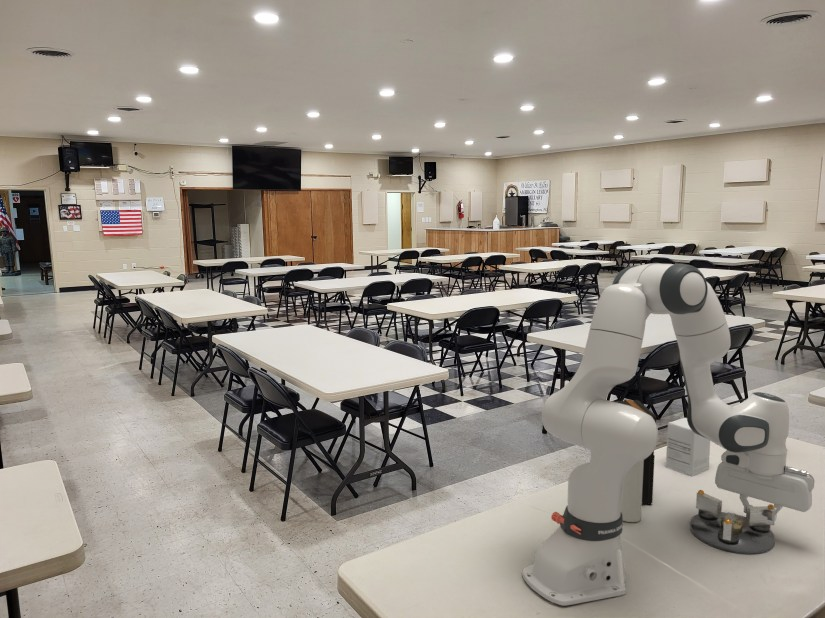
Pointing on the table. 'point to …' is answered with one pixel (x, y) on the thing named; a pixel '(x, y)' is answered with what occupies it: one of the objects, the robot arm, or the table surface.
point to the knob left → (708, 506)
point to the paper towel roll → (632, 493)
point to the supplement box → (686, 449)
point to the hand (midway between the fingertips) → (759, 516)
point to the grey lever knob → (759, 518)
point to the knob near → (728, 530)
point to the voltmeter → (649, 461)
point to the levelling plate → (745, 537)
